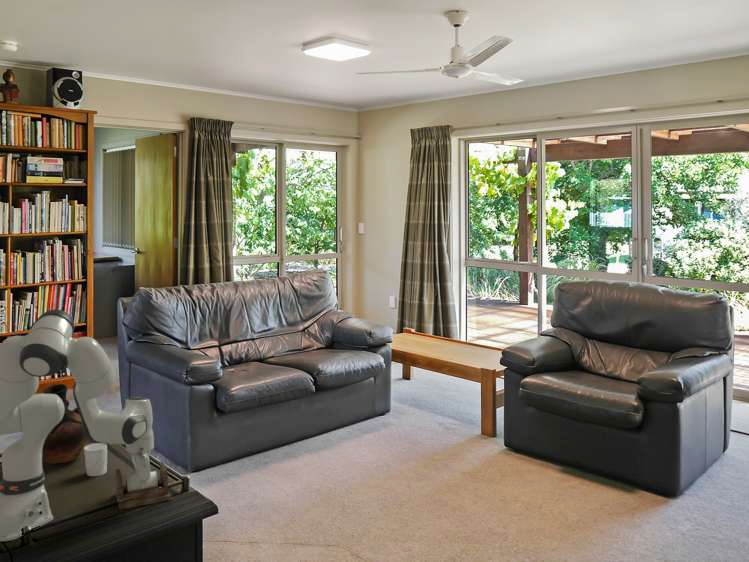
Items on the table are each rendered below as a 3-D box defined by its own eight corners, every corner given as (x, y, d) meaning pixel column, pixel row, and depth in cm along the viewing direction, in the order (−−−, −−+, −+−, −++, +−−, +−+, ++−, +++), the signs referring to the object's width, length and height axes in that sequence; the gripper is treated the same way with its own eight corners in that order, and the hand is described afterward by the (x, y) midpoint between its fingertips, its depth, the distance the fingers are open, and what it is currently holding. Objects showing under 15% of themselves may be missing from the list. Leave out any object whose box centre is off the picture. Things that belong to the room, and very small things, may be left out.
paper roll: (127, 495, 226) (126, 479, 225) (125, 489, 231) (125, 473, 230) (158, 490, 230) (157, 474, 229) (156, 484, 235) (155, 468, 234)
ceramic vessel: (84, 448, 277) (80, 376, 274) (98, 461, 264) (94, 384, 261) (27, 461, 264) (22, 385, 261) (39, 475, 251) (34, 395, 247)
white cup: (112, 469, 255) (111, 443, 254) (101, 477, 248) (100, 450, 247) (92, 468, 256) (90, 442, 255) (81, 477, 248) (79, 450, 247)
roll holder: (119, 509, 221) (117, 481, 220) (115, 494, 233) (114, 467, 232) (170, 500, 228) (169, 472, 227) (164, 485, 240) (163, 459, 239)
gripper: (154, 452, 220) (156, 493, 222) (145, 433, 239) (147, 471, 240) (133, 455, 218) (135, 497, 219) (126, 436, 236) (128, 475, 238)
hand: (141, 483), depth 230 cm, fingers closed on paper roll, 5 cm apart
